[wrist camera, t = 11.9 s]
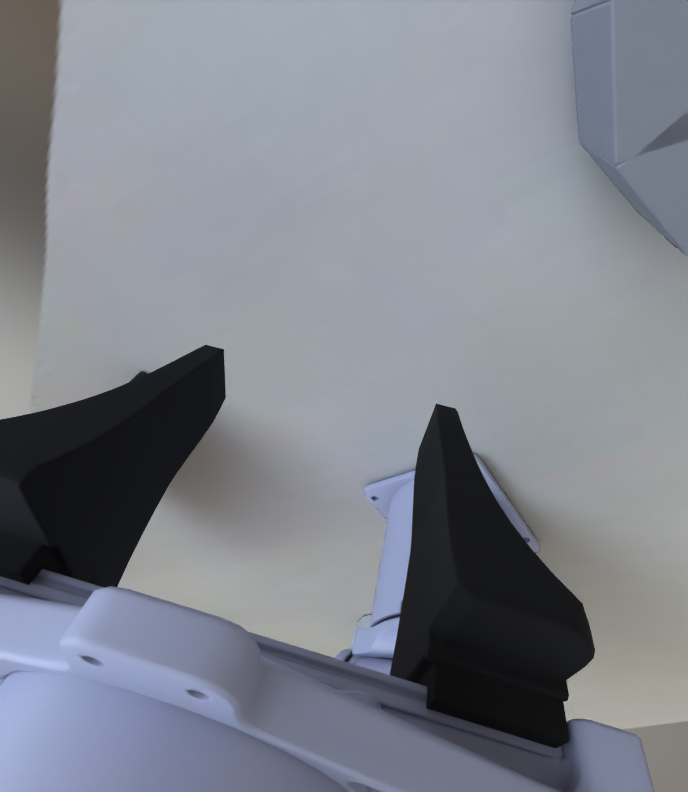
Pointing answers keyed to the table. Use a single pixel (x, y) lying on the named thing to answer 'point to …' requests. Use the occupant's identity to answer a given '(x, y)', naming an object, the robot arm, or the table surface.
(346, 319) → the table surface
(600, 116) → the tape roll
